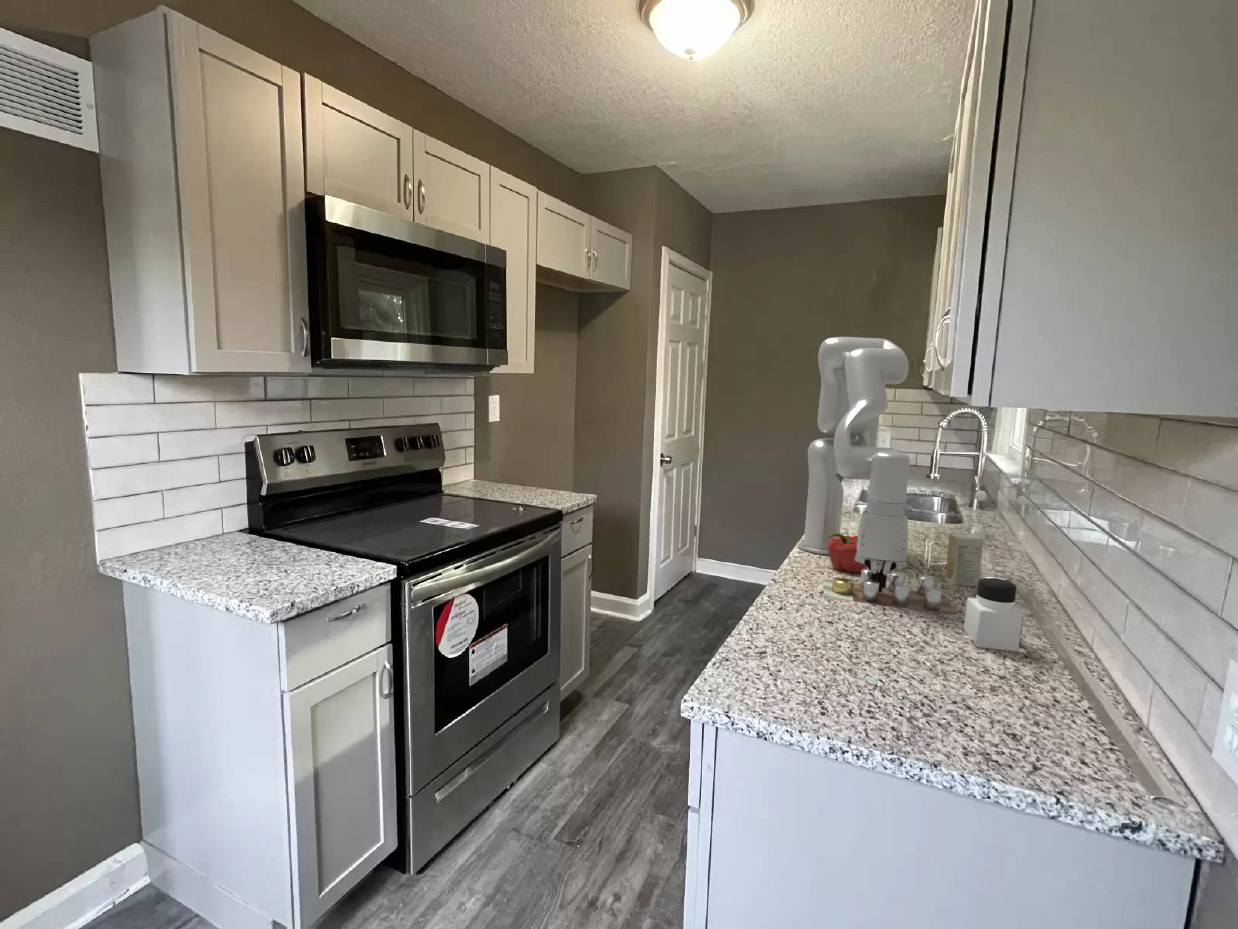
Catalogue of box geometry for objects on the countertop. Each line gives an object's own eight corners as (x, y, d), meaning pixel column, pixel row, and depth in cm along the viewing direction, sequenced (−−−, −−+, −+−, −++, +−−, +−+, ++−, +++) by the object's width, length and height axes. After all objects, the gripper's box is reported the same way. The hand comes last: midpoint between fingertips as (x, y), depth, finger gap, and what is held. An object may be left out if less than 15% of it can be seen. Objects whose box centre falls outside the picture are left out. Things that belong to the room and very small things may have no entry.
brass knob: (829, 587, 142) (830, 576, 141) (850, 589, 141) (851, 578, 141) (834, 594, 137) (835, 583, 137) (855, 595, 137) (856, 584, 136)
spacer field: (859, 584, 145) (861, 567, 144) (930, 593, 140) (932, 576, 140) (863, 601, 133) (864, 583, 133) (940, 611, 129) (942, 593, 128)
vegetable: (834, 578, 152) (838, 538, 150) (816, 565, 162) (819, 527, 160) (877, 578, 153) (881, 538, 152) (855, 565, 163) (859, 528, 162)
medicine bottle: (1019, 652, 112) (1027, 588, 110) (975, 647, 113) (983, 584, 112) (1003, 637, 119) (1011, 576, 117) (962, 632, 120) (969, 572, 119)
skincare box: (970, 583, 151) (976, 534, 150) (979, 589, 147) (985, 539, 146) (943, 581, 152) (948, 532, 150) (950, 587, 148) (956, 537, 146)
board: (823, 582, 148) (823, 579, 148) (944, 598, 140) (945, 594, 140) (823, 600, 135) (823, 596, 135) (956, 618, 128) (957, 614, 128)
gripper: (920, 509, 137) (912, 589, 139) (848, 502, 141) (841, 580, 144) (926, 515, 130) (916, 600, 132) (849, 508, 134) (842, 590, 137)
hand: (877, 589), depth 138 cm, fingers closed
